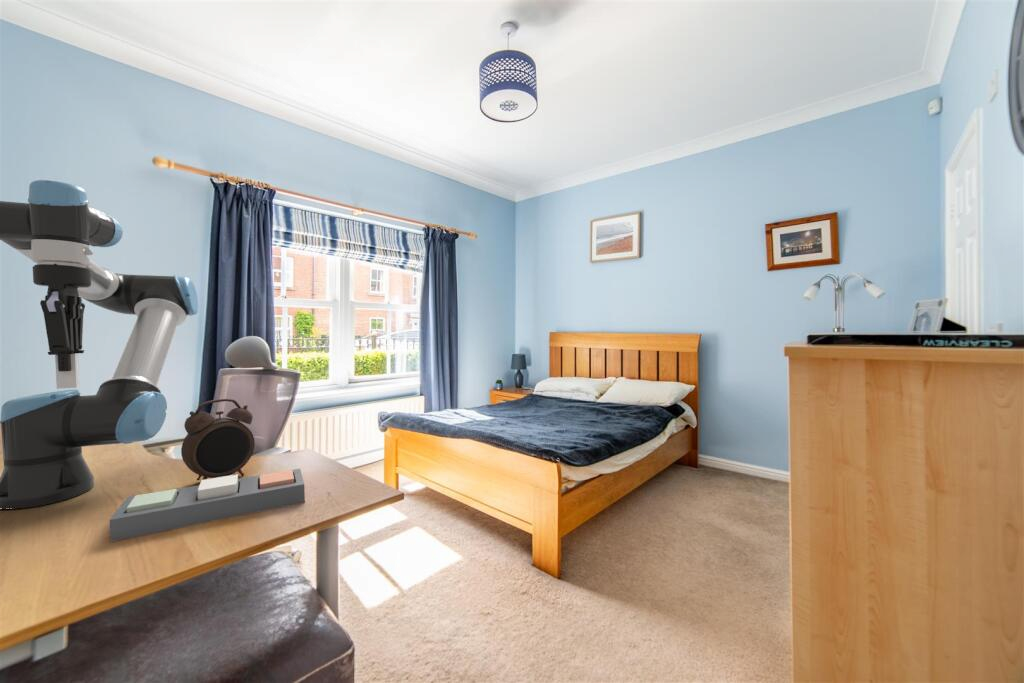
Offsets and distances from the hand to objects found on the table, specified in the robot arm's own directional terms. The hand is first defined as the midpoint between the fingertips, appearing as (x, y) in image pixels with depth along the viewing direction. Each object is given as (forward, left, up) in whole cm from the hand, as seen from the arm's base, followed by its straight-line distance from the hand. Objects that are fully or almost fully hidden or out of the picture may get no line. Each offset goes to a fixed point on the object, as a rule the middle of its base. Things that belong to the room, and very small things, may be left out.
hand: (68, 387), depth 80 cm
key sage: (+9, +13, -25) cm, 29 cm away
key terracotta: (+9, +34, -25) cm, 43 cm away
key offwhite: (+9, +24, -24) cm, 35 cm away
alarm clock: (-11, +23, -27) cm, 37 cm away
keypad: (+9, +24, -26) cm, 37 cm away
